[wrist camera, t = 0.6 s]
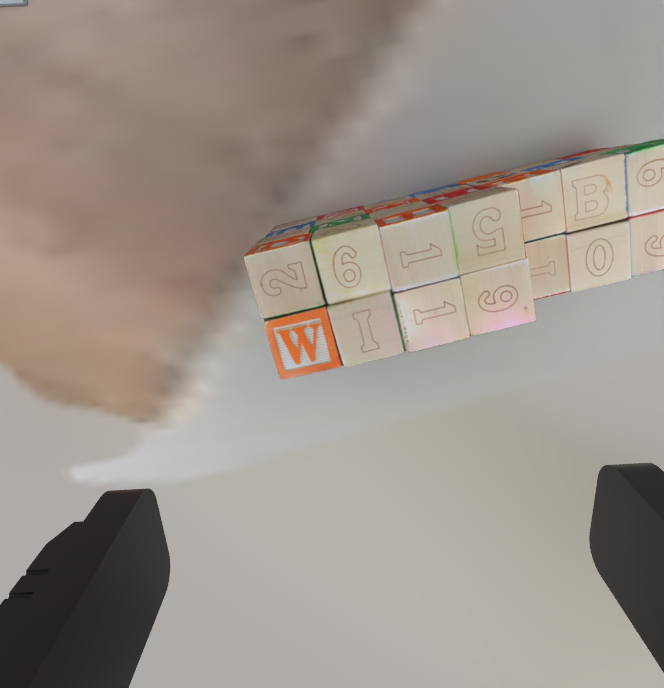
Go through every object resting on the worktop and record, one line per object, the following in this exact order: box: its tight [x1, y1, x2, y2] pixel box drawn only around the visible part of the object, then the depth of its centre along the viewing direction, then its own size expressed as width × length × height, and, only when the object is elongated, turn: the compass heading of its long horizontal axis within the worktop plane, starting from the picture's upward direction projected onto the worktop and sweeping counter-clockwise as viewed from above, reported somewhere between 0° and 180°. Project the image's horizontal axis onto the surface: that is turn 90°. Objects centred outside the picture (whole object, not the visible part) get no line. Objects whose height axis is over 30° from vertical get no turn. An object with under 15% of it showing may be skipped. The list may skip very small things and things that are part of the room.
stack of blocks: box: [244, 139, 664, 380], centre depth 27 cm, size 21×6×12 cm, turn 104°
